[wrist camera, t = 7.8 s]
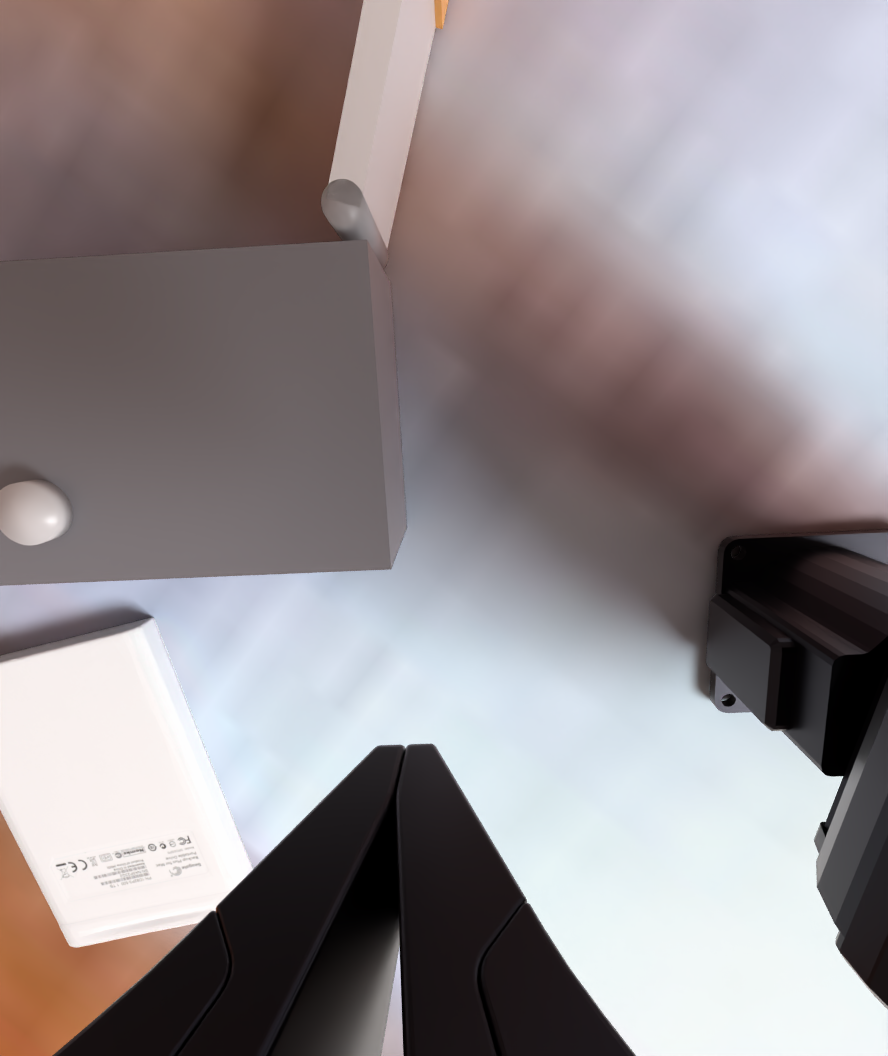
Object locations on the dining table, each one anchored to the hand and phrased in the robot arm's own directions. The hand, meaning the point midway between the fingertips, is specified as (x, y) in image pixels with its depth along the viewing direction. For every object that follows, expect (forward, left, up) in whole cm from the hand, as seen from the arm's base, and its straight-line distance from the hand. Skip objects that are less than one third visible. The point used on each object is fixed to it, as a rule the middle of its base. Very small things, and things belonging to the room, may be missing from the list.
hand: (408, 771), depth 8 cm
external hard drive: (+13, +9, -13) cm, 20 cm away
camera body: (+7, -5, -12) cm, 15 cm away
